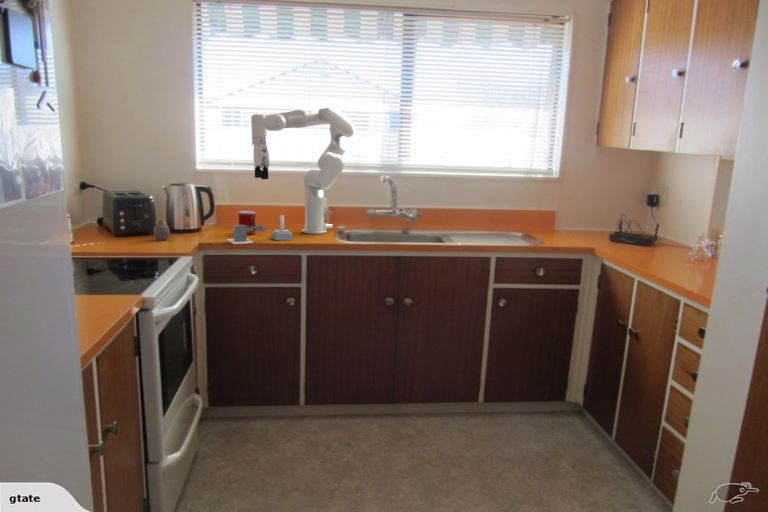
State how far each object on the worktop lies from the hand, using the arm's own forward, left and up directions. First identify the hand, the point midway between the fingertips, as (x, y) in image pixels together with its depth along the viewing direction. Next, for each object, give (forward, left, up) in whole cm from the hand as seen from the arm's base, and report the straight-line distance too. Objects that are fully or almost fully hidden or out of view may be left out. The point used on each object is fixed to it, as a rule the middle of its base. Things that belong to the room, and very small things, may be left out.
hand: (261, 178), depth 262 cm
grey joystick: (-6, +11, -28) cm, 30 cm away
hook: (+9, +11, -27) cm, 31 cm away
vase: (+45, -5, -28) cm, 53 cm away
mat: (+14, +11, -28) cm, 33 cm away
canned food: (+5, -8, -28) cm, 30 cm away
